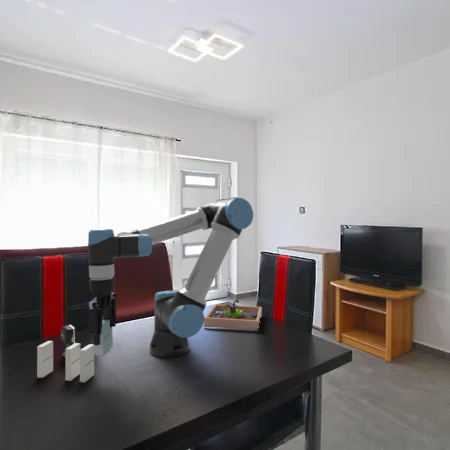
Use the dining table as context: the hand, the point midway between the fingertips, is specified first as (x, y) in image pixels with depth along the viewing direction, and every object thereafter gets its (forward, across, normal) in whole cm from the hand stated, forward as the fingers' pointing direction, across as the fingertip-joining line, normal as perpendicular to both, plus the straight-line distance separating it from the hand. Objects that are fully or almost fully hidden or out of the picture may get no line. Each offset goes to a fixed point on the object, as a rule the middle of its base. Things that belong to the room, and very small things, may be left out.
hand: (103, 350), depth 104 cm
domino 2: (+9, 0, -6) cm, 11 cm away
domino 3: (+1, 0, 0) cm, 1 cm away
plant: (+12, -67, +32) cm, 75 cm away
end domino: (+9, 0, -21) cm, 22 cm away
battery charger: (+9, -12, -22) cm, 27 cm away
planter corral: (+11, -66, +32) cm, 75 cm away
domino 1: (+9, 0, -11) cm, 14 cm away
